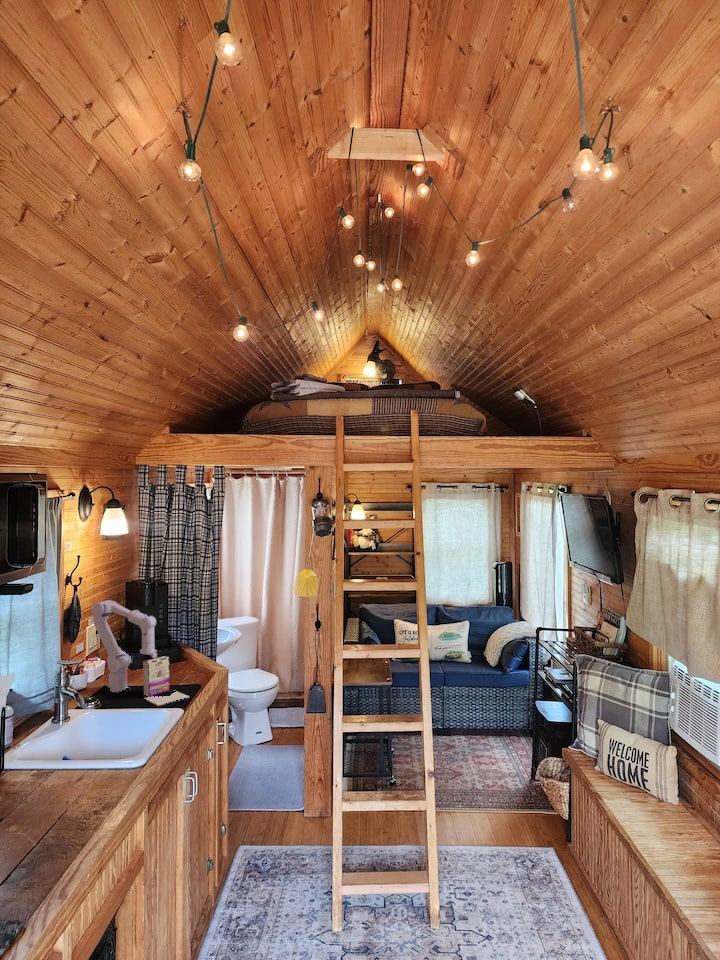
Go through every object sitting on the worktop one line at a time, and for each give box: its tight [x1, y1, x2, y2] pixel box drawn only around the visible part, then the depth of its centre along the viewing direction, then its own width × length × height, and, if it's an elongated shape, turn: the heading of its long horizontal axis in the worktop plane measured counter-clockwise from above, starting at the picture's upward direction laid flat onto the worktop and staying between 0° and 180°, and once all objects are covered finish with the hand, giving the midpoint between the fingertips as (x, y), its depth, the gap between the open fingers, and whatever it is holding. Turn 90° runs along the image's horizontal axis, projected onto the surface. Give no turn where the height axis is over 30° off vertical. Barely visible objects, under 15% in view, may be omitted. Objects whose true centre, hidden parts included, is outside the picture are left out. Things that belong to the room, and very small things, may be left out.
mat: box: [143, 690, 190, 707], centre depth 262 cm, size 14×15×1 cm
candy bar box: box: [142, 655, 171, 697], centre depth 270 cm, size 11×5×16 cm, turn 141°
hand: (148, 670), depth 276 cm, fingers closed
